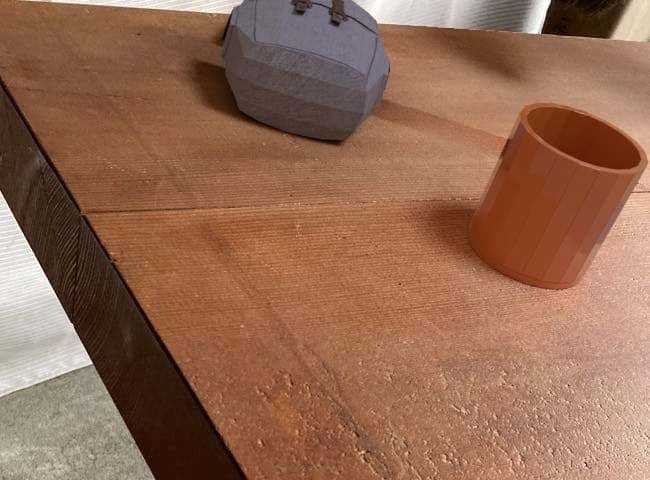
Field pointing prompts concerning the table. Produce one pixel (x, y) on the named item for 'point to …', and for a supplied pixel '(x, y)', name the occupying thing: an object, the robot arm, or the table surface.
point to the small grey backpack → (305, 64)
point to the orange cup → (554, 195)
